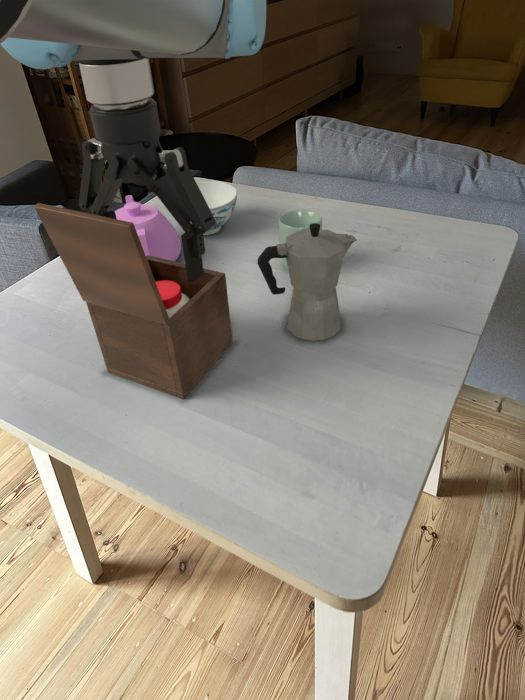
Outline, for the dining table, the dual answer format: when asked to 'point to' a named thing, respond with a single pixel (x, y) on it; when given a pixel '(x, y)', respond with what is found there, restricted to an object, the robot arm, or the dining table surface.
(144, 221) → the teapot
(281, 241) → the cup
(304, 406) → the dining table surface
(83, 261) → the lid
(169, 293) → the pill bottle
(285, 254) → the coffeepot
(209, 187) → the chinaware
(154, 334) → the chest
